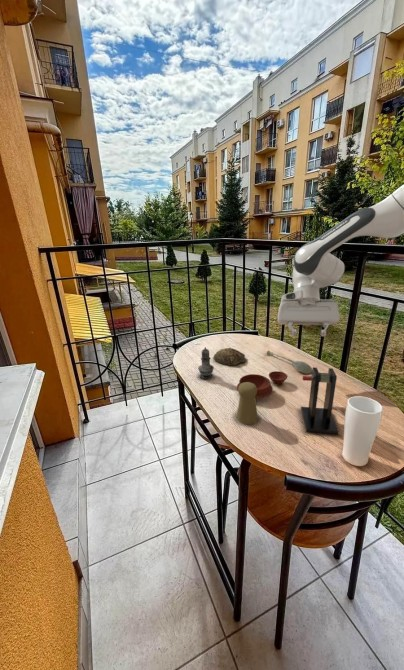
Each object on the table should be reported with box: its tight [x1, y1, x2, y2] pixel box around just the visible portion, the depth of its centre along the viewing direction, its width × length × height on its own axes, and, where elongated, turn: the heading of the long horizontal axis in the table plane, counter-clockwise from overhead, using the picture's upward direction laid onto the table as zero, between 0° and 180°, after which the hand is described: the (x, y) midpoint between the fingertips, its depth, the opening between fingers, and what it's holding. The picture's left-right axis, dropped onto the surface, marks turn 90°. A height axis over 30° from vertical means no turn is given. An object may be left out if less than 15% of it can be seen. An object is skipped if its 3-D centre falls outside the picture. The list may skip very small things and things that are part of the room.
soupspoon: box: [266, 350, 313, 375], centre depth 113 cm, size 22×3×7 cm
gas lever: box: [302, 372, 330, 384], centre depth 80 cm, size 16×6×2 cm
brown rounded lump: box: [213, 347, 246, 366], centre depth 118 cm, size 13×12×5 cm
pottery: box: [236, 370, 288, 399], centre depth 95 cm, size 12×20×4 cm, turn 123°
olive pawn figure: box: [236, 382, 258, 425], centre depth 80 cm, size 6×6×11 cm
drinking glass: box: [341, 395, 383, 467], centre depth 63 cm, size 7×7×15 cm
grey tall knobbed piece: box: [197, 347, 215, 381], centre depth 103 cm, size 6×6×12 cm
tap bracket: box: [300, 367, 339, 436], centre depth 76 cm, size 10×8×16 cm
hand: (308, 335), depth 95 cm, fingers open, 8 cm apart
